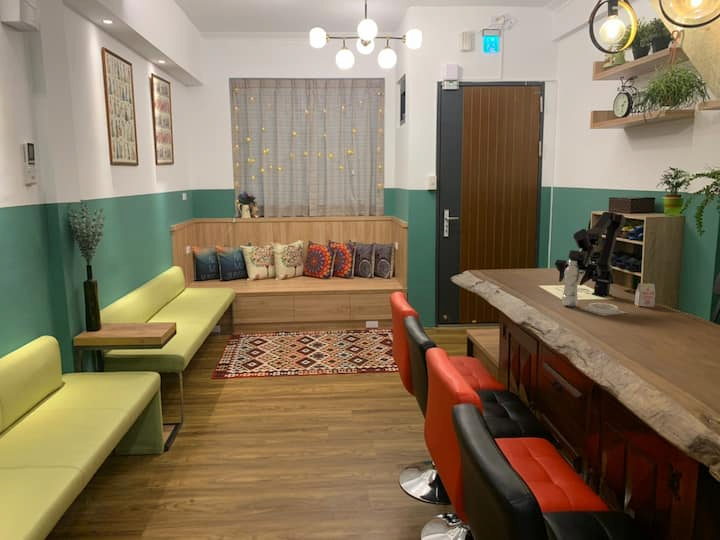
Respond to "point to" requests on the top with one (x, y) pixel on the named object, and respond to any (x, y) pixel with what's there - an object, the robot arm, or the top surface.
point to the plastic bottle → (571, 284)
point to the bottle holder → (603, 309)
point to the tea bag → (645, 295)
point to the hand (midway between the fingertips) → (569, 283)
